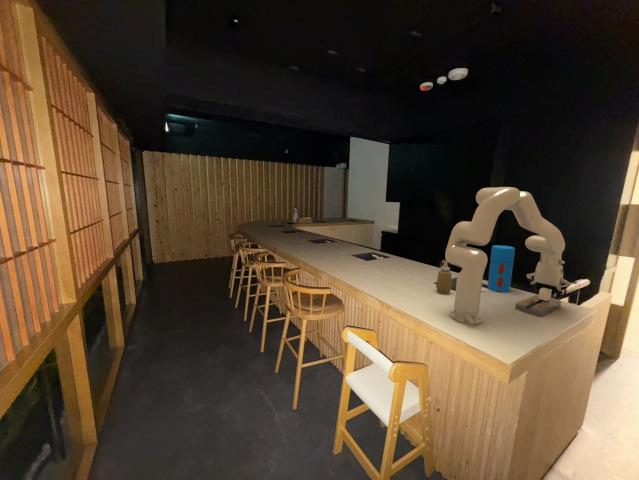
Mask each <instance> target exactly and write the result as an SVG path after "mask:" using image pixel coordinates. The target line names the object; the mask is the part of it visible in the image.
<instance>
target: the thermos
mask: <svg viewBox="0 0 639 480" xmlns="http://www.w3.org/2000/svg"><path fill="white" fill-rule="evenodd" d="M515 251H516V249H515V247H513V246H509V245H501V244H500V245H492V246H491V253H490V261H489V268H488V269H489V270H488V278H487V290H490V291H492V292H496V293H501V294H502V293H504V294H505V293H510V289H511V286H512V285H511V283H512V275H513V268H514V260H515Z"/></svg>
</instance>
